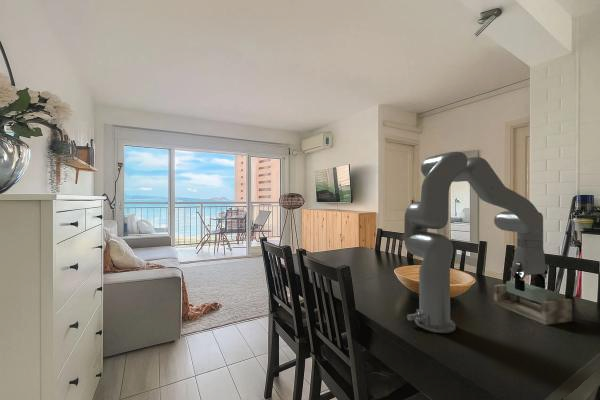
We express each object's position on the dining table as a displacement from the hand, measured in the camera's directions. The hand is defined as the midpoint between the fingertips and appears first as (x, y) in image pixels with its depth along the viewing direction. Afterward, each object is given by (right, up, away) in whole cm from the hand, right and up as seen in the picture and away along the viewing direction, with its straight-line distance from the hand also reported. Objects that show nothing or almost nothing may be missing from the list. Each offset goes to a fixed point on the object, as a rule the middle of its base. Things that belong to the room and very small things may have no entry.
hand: (530, 288), depth 100 cm
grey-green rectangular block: (0, -3, 0) cm, 3 cm away
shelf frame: (0, -9, 0) cm, 9 cm away
